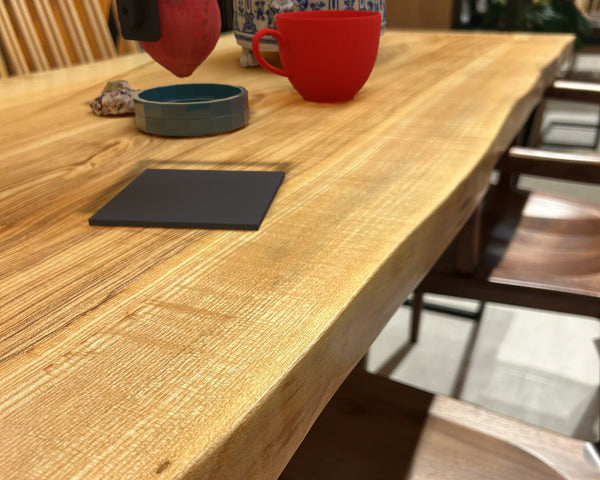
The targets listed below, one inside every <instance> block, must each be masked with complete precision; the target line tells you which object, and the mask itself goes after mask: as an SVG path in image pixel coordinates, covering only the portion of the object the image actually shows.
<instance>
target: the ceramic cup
mask: <svg viewBox="0 0 600 480" xmlns="http://www.w3.org/2000/svg"><path fill="white" fill-rule="evenodd" d="M381 20H382V16H381V13H379V12H373V11H360V10H316V11H298V12H287V13H280V14H277V15H275V22H276V30H274V29H269V28H265V29H261V30H259V31H258V32H256V34H255V35H254V37H253V39H252V52H253V55H254V57H255V59H256V60H257V62H258V63H259V64H258V65H260V67H262V68H263V69H264V70H266V71H267V72H269V73H272V74H274V75H278V76H282V77H284V78H287V80H288V81H289V83H290V85H291V86H292V87H293V89H294V90H295V91H296V93H297V94H298V95H299V96H300V97H301V98H302V101H303V102H304V101H305V102H308V103H311V104H313V103H314V104H327V105H329V104H341V103H347V102H351V101H353V100H354V99H355V97H356V95H358V93H360V91H361V90H362V89H363V88H364V86H365V85H366V83H367V81H368V80H369V78H370V76H371V75H372V72H373V69H374V67H375V64H376V60H377V56H378V52H379V46H380V40H381V37H380V33H381ZM265 35H271V36H273V37H274V38H276V40H277V42H278V49H279V52H278V54H279V59H280V63H281V66H282V69H281V68H278V67H275V66H274V65H271V64H270V63H268V62H267V60H265V59H264V57H263V55H262V53H261V50H259V43H260V40H261V38H262V37H263V36H265Z"/></svg>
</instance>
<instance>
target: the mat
mask: <svg viewBox="0 0 600 480" xmlns="http://www.w3.org/2000/svg"><path fill="white" fill-rule="evenodd" d="M285 177H286V172H285V171H283V170H281V171H277V170H270V171H269V170H238V169H237V170H236V169H235V170H233V169H232V170H231V169H187V168H182V169H181V168H145V169H144V170H143V171H142V172H141V173H139V174H138V175H137V176H136V177H135V178H134V179H133V180H131V181H130V182H129V183H128V184H127V185H126V186H124V187H123V188H122V189H121V190H120V191H119V192H117V193H116V194H115V195H114V196H113V197H112V198H111V199H110V200H108V201H107V202H106V203H105V204H103V206H101V207H100V208H99V209H98V210H97V211H95V212H94V213H93V214H92V215H91V216H89V218H88V219H87V221H88V225H89V226H92V227H93V226H94V227H96V226H98V227H128V228H153V229H154V228H156V229H157V228H158V229H186V230H215V231H216V230H217V231H245V232H247V231H250V232H258V231H259V230H260V228H261V226H262V224H263V222H264V220H265V218H266V216H267V214H268V212H269V210H270V208H271V206H272V204H273V202H274V200H275V198H276V196H277V194H278V191H279V190H280V188H281V186H282V184H283V182H284V180H285Z"/></svg>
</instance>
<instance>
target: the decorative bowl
mask: <svg viewBox="0 0 600 480" xmlns="http://www.w3.org/2000/svg"><path fill="white" fill-rule="evenodd" d="M232 4H233V5H232V6H233V7H232V8H233V27H232V29H233V36H234V38H235V42H236V44H237V45H238V46H240V47H241V49H242V51H241V56H240V58H239V64H240V66H241V68H243V67H244V68H249V67H254V66H259V65H260V64H259V63H258V62H257V60H256V59H255V57H254V55H253V52H252V39H253V37H254V35H255V34H256V32H258V31H259V30H261V29H265V28H269V29H274V30H276V22H275V15H277V14H280V13H287V12H298V11H316V10H360V11H373V12H379V13H381V16H382V20H381V33H380V38H381V37H383V36H384V35H385V34H386V28H387V8H386V7H387V6H386V0H232ZM259 50H260V51H265V52H275V53H276V52H277V53H279V49H278V42H277V40H276V38H274V37H273V36H271V35H265V36H263V37H262V38H261V40H260V43H259Z"/></svg>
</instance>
